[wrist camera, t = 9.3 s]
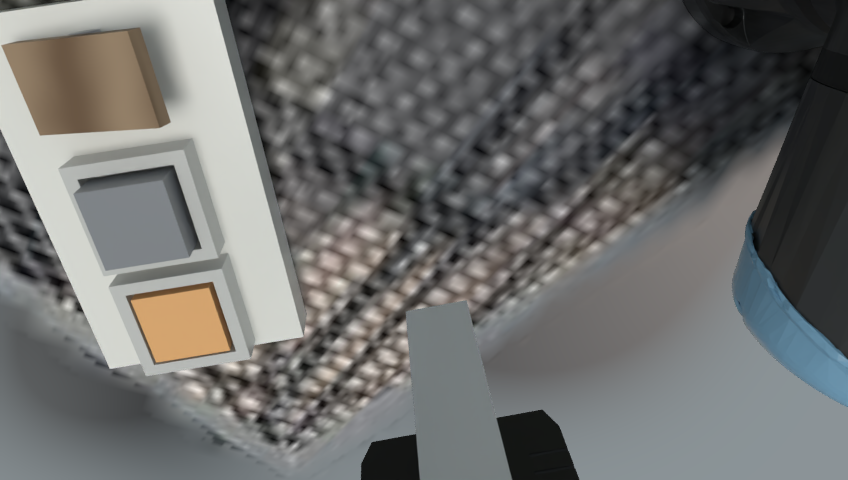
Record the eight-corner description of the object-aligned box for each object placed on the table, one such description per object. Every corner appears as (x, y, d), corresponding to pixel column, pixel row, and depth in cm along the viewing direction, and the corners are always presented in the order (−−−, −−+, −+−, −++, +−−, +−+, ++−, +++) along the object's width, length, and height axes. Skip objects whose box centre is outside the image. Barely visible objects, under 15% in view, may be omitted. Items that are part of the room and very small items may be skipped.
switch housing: (219, -22, 36) (199, -16, 32) (306, 314, 47) (301, 355, 43) (-20, 13, 36) (-75, 25, 31) (124, 343, 47) (98, 388, 42)
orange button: (216, 269, 41) (208, 287, 39) (236, 330, 44) (230, 350, 42) (142, 281, 41) (130, 300, 39) (166, 341, 44) (156, 362, 41)
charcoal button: (173, 165, 37) (162, 180, 34) (198, 239, 39) (189, 257, 37) (89, 178, 36) (73, 193, 34) (119, 252, 39) (105, 270, 37)
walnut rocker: (140, 27, 31) (127, 30, 30) (170, 122, 34) (159, 128, 33) (16, 41, 33) (1, 45, 33) (52, 130, 36) (39, 135, 35)
